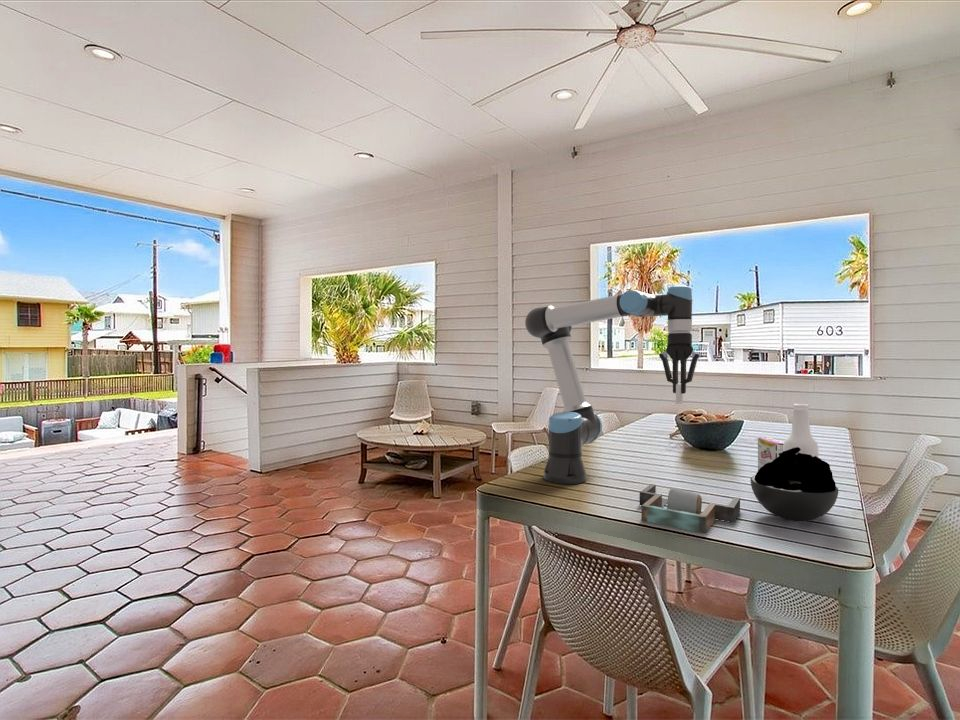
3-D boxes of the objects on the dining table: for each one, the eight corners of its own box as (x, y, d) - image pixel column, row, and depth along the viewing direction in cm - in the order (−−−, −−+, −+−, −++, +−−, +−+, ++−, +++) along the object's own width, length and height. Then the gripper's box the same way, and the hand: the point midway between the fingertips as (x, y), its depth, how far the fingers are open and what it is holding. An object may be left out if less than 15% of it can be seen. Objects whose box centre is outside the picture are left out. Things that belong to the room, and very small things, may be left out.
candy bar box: (756, 485, 167) (756, 437, 167) (771, 485, 167) (771, 437, 167) (775, 494, 156) (776, 443, 155) (791, 494, 156) (792, 443, 155)
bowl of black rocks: (808, 538, 119) (808, 461, 118) (734, 514, 137) (734, 447, 136) (854, 525, 127) (855, 454, 127) (779, 504, 145) (780, 441, 145)
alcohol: (775, 500, 149) (776, 402, 149) (802, 499, 150) (803, 402, 150) (797, 509, 140) (798, 406, 140) (825, 508, 141) (826, 405, 141)
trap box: (625, 517, 134) (625, 502, 134) (650, 496, 153) (650, 484, 153) (725, 537, 119) (725, 521, 119) (740, 511, 138) (740, 497, 138)
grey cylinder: (699, 524, 128) (699, 495, 128) (666, 519, 132) (666, 491, 132) (703, 513, 138) (703, 486, 138) (672, 509, 142) (672, 482, 142)
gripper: (703, 332, 162) (702, 403, 162) (662, 333, 170) (662, 401, 170) (698, 331, 156) (697, 405, 156) (656, 332, 164) (656, 403, 164)
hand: (679, 403), depth 163 cm, fingers closed
